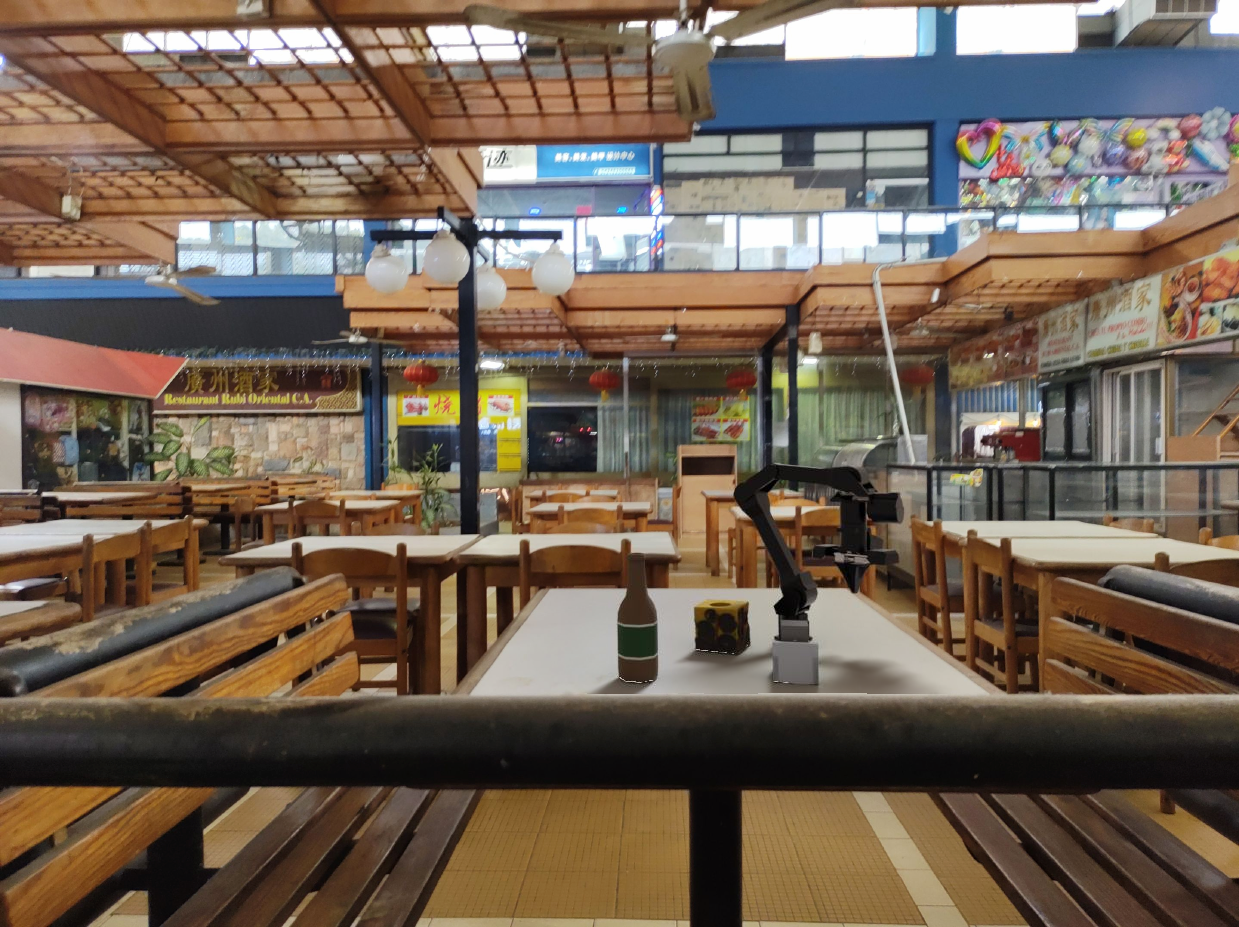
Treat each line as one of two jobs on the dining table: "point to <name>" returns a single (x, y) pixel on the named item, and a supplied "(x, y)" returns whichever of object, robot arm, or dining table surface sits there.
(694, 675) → the dining table surface
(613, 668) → the dining table surface
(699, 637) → the yellow and black cube
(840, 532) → the robot arm
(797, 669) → the socket
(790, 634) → the plug
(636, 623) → the beer bottle
